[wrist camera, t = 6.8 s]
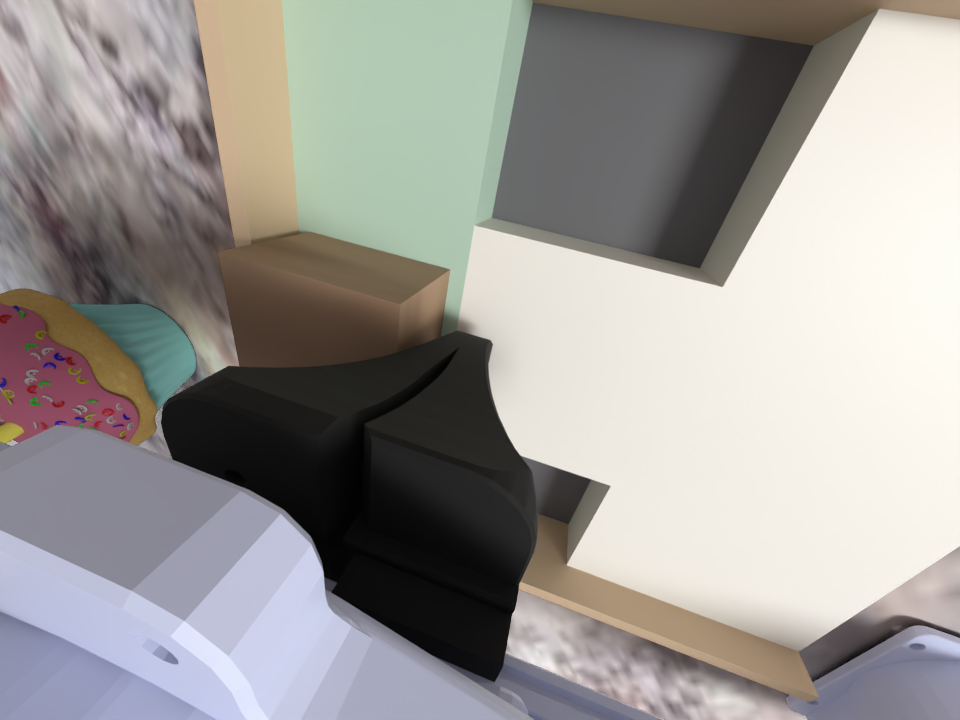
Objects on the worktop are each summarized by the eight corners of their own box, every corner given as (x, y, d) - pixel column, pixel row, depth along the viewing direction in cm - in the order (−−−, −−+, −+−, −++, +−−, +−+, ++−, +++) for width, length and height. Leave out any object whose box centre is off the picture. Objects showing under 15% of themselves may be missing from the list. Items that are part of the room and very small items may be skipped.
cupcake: (239, 341, 19) (-183, 544, 8) (210, 426, 23) (-92, 629, 13) (97, 235, 18) (-564, 316, 8) (95, 344, 22) (-327, 490, 12)
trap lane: (764, 597, 17) (816, 719, 13) (336, 444, 20) (278, 506, 17) (1361, 94, 7) (2298, -5, 3) (321, -55, 10) (161, -193, 6)
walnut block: (432, 394, 14) (388, 456, 11) (318, 358, 14) (247, 406, 11) (450, 269, 11) (400, 304, 8) (311, 231, 12) (217, 251, 9)
